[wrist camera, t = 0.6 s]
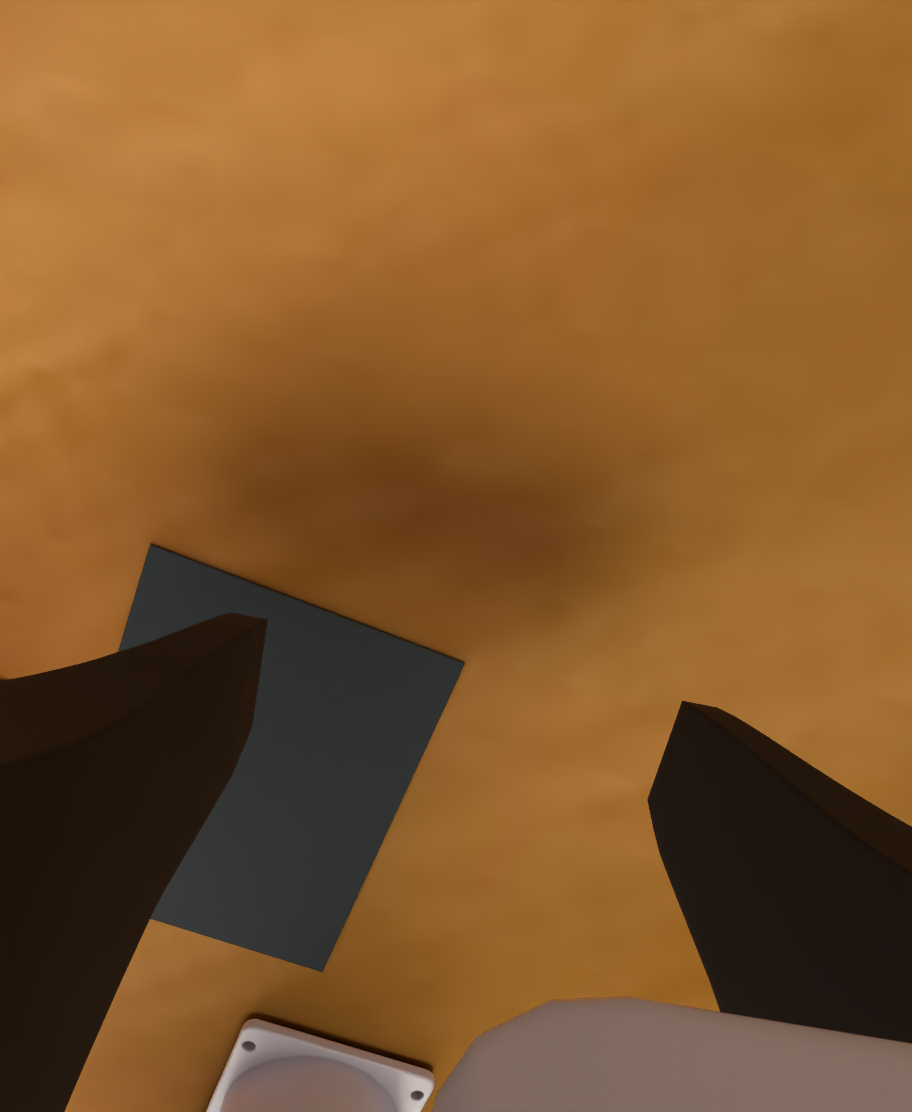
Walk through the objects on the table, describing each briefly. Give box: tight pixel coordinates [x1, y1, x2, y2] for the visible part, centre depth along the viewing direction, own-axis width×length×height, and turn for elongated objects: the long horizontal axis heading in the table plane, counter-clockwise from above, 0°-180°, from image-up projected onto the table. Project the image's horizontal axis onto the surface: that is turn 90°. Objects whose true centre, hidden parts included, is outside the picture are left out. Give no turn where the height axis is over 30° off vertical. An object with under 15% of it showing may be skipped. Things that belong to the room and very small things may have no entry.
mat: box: [118, 544, 465, 972], centre depth 23 cm, size 14×10×1 cm
